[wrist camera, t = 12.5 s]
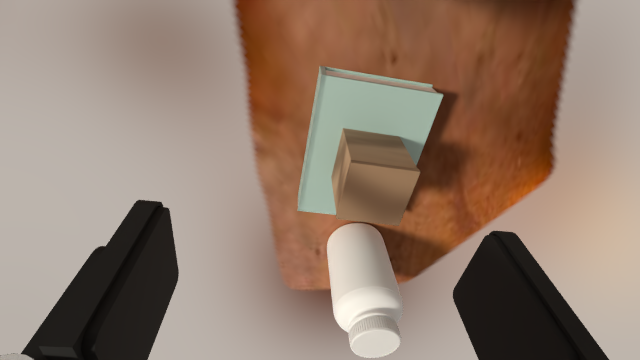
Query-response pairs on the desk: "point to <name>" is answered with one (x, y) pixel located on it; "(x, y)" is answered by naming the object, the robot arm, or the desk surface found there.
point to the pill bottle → (364, 290)
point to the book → (360, 124)
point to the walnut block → (372, 177)
